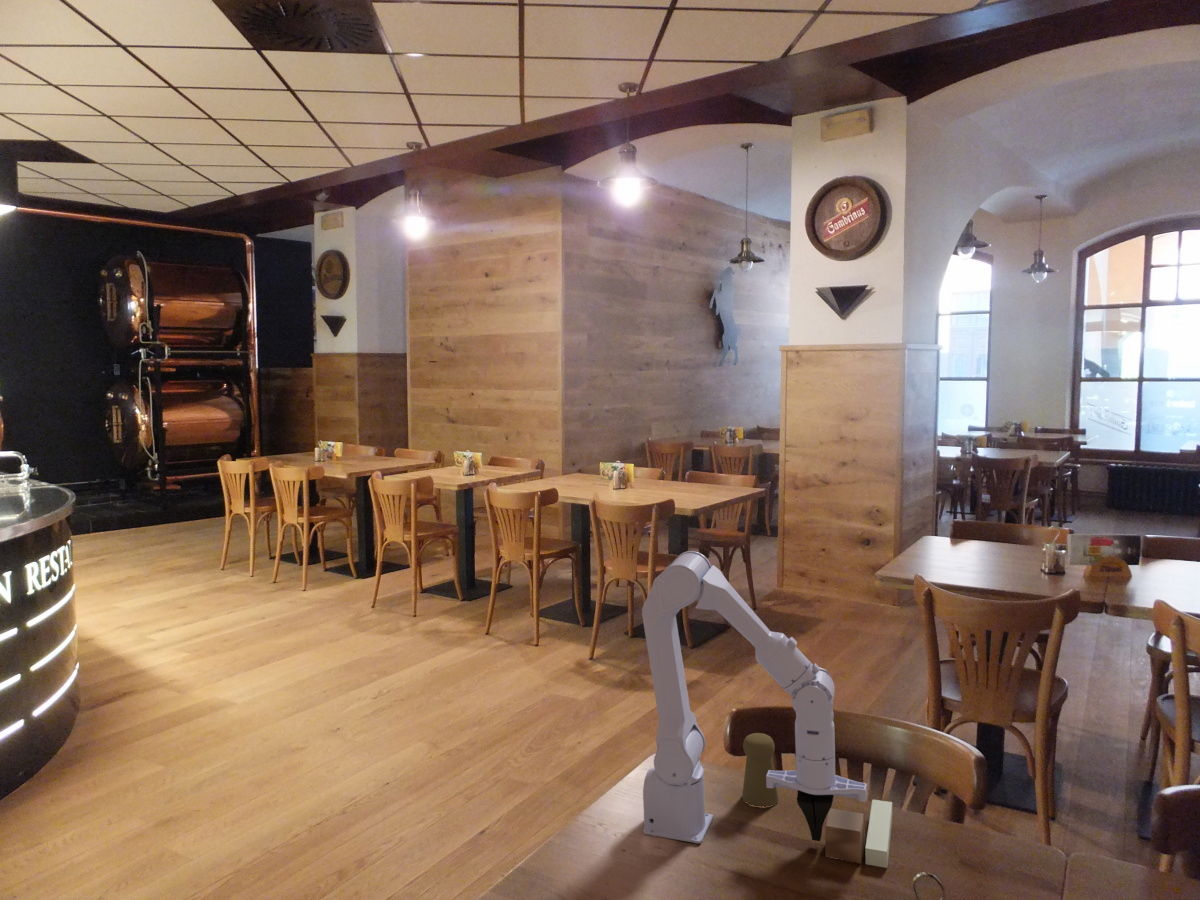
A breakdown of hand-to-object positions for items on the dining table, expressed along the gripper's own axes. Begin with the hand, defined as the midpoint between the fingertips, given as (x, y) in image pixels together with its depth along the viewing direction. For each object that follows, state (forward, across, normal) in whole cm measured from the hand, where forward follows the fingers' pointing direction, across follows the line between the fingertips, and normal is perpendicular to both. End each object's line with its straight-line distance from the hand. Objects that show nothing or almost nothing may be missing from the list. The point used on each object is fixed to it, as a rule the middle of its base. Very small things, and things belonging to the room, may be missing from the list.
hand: (816, 837), depth 128 cm
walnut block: (+1, -4, 0) cm, 4 cm away
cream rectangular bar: (+1, -9, -4) cm, 10 cm away
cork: (+2, +11, -11) cm, 15 cm away
